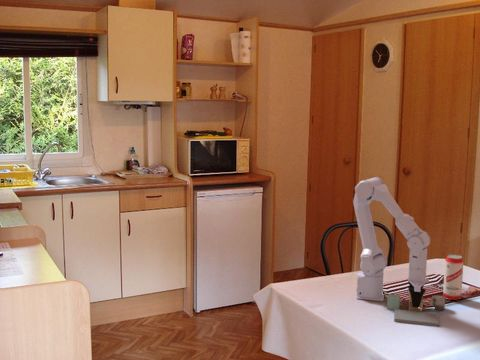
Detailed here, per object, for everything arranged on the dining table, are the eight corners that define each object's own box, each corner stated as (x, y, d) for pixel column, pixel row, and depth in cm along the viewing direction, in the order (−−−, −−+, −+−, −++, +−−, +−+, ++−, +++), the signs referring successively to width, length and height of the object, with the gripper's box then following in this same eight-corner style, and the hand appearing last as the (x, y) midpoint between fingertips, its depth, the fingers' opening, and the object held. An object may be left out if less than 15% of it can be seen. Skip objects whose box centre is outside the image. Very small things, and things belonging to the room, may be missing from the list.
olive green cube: (387, 309, 192) (387, 298, 191) (387, 304, 196) (387, 294, 195) (399, 310, 191) (399, 299, 190) (399, 305, 194) (399, 295, 194)
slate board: (394, 321, 182) (394, 318, 181) (394, 311, 189) (394, 309, 189) (438, 326, 178) (439, 323, 178) (437, 316, 185) (437, 313, 185)
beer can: (462, 302, 197) (465, 259, 194) (444, 300, 198) (446, 258, 195) (459, 295, 203) (462, 254, 200) (441, 294, 204) (444, 253, 201)
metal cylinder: (431, 310, 190) (432, 299, 190) (430, 305, 194) (431, 294, 194) (444, 311, 189) (445, 300, 188) (444, 306, 193) (444, 296, 193)
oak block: (408, 310, 190) (409, 293, 189) (408, 305, 195) (409, 289, 194) (422, 311, 189) (423, 295, 188) (422, 306, 193) (422, 290, 192)
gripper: (430, 274, 181) (428, 313, 184) (428, 261, 195) (426, 297, 197) (408, 272, 183) (406, 311, 186) (408, 259, 197) (406, 295, 199)
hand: (415, 304), depth 192 cm, fingers closed on oak block, 4 cm apart
